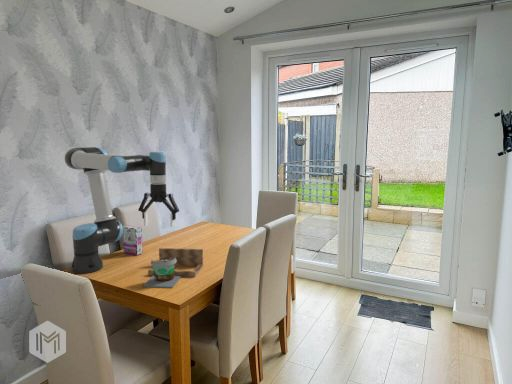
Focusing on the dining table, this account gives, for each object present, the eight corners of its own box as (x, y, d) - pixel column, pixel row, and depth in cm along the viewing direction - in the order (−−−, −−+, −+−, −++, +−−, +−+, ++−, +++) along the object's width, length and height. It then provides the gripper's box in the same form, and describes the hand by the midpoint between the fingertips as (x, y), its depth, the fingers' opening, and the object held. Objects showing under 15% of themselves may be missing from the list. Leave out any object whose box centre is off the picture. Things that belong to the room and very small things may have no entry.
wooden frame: (148, 275, 180) (147, 258, 178) (160, 263, 197) (159, 248, 196) (195, 276, 178) (194, 259, 176) (203, 265, 195) (202, 249, 194)
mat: (142, 287, 165) (142, 285, 165) (153, 275, 179) (153, 274, 179) (172, 287, 164) (172, 286, 164) (181, 276, 178) (181, 275, 178)
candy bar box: (143, 253, 216) (142, 227, 213) (137, 255, 211) (135, 228, 209) (130, 250, 221) (128, 225, 218) (123, 253, 216) (122, 226, 214)
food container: (151, 284, 167) (150, 263, 166) (151, 279, 173) (150, 259, 172) (178, 281, 171) (177, 260, 169) (177, 276, 177) (176, 257, 175)
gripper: (130, 183, 173) (131, 226, 176) (180, 185, 170) (180, 228, 173) (137, 181, 180) (138, 222, 183) (185, 183, 177) (185, 224, 180)
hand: (159, 225), depth 178 cm, fingers open, 13 cm apart
